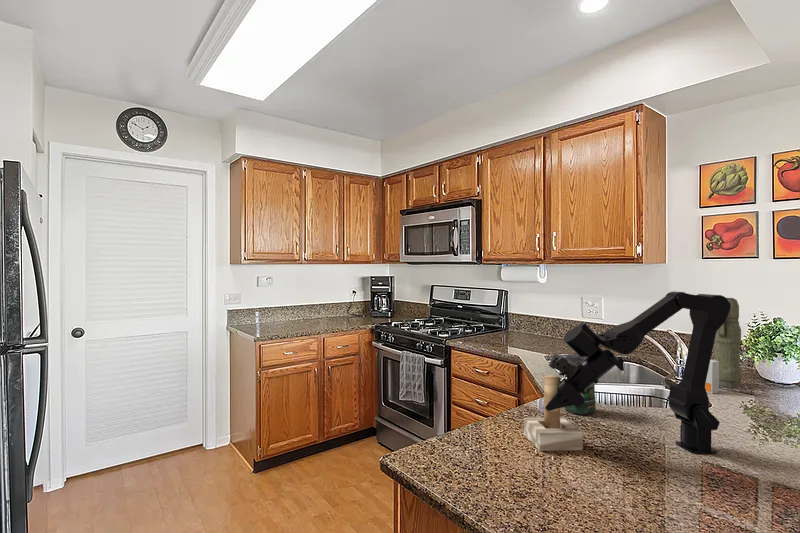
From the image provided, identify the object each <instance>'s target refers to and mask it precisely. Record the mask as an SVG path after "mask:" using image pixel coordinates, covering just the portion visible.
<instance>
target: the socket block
mask: <svg viewBox="0 0 800 533" xmlns="http://www.w3.org/2000/svg"><path fill="white" fill-rule="evenodd" d="M523 435H524V436H525V437H526V438H527V439H528V440H529V441H530V443H531V444H532V445H533V446H535V448H537V450H539V451H540V452H543V451H544V452H545V451H546V452H552V451H557V452H558V451H560V452H561V451H584V450H583V449H584V448H583V446H584V444H583V443H584V441H583V440H584V438H583V437H584V436H583V435H584V433H583V430H580V429H579V428H578V427H577V426H575V424H573V423H571V422H570V421H569V420H568V419H566V418H565V417H563V416H560V428H552V429H546V428H545V427H544V416H543V417H538V416H537V417H523Z"/></svg>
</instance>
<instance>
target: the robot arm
mask: <svg viewBox="0 0 800 533" xmlns="http://www.w3.org/2000/svg"><path fill="white" fill-rule="evenodd" d="M727 298H728V297H725V296H724V295H721V294H710V293H709V294H707V293H698V294H691V293H686V292H684V291H670V292H668V293H666V295H665V296H664V297H662V298H661V299H660V300H659V301H657V302H656V303H654V304H652V305H651V306H650V307H648V308H647V309H645V310H644V311H643V312H641V313H640V314H639V315H637V316H636V317H634V318H633V319H631V320H629V321H627V322H624V323H620V324H617V325H615V326H613V327H610V328H609V329H607V330H606V331H605V332H604V333H600V334H596V333H595V332H594V331H592V330H591V328H590V327H589V326H588V325H587V324H586V323H584V322H580V323H579V325H577V326H575V327H574V326H573V327H572V328H571V329H570V330H568V331H567V332H566V333H565V334H564V337H563V343H565V344H566V345H567V346H568V347H570V348H571V350H573V351H574V352H575V354H576V353H577V354H578V355H579V356H580V357H584V356H586V358H585V359H584V360H583V361H581V360H580V361H577V362H576V363H573V362H571V361H570V360H568V359H567V358H566V357H564V356H563V355H560V354H558V353H556V352H555V353H554V354H553V355H552V357H551V358H550V360H549V363H548V367H550V368H551V369H553V370H556V371H558V375H559V377H560V385H559V384H557V393H556V394H555V396H554V397H553V398H552V399H551V400H550V402H549V403H548V404H547V405H546V407H545V409H546V410H547V411H550V410H554V409H558V408H560V409H562V408H564V407H567V406H572V405H574V406H576V407H577V408H579V407H580V406H582V405H583V404H584V395H583V394H585V393H586V389H588V388H589V387H590V386H591V385H592V384H594V385H597V384H598V383H599V380H600V379H601V378H602V377H603V376H605V375H606V374H607V373H608V372H609V371H610V370H612V369H613V368H615V367H617V369H619V370H620V371H621V372H624V371H625V367H624V366H625V365H624V363H625V360H624V359H623V357H622V356H616V355H615V354H614V353H613V352H615V353H618V354H620V355H630V354H632V353H634V351H636V350H637V348H638V347H639V346H641V344H642V343H643V341H644V339H645V337H646V336H647V334H649V333H650V332H651V331H653V330H655V329H656V328H657V327H659V326H660V325H661V324H663V323H664V322H666V321H668V319H670V318H671V317H673V316H674V315H676V314H677V313H678V312H680V311H682V309H685V310H689V317H690V320H691V324H692V331H691V336H690V341H689V345H688V350H687V356H686V359H685V362H684V369H683V373H682V378H681V381H679V383H678V384H676V385H674V384H670V386H669V394H668V396H667V397H666V399H667V400H668V407H669V408H670V409H671V411H672V412H673V413H674V414H673V415H674V416H675V418H676V420H679V421H680V428H679V429H680V436H679V438H680V440H679V441H678V440H676V441H675V442H674V443H675V444H676V445H677V446H679V447H681V448H682V449H684V450H686V451H688V452H690V453H691V454H718V450H716V449H715V448H712V431H717V430H718V429H719V426H720V421H719V419H717V417H715V416H714V414H712V412H710V409H709V408H710V399H709V395H708V393H707V392H706V389H705V383H706V379H707V374H708V369H709V365H710V360H712V354H713V351H714V347H715V342H714V341H715V336H716V332H717V330H718V329H719V328H720V327H721V326H722V325H723V324H724V323H725V322H726V320H727V317H728V315H729V312H730V310H731V304H730V302H729V301H728V300H727ZM601 346H603V347H605V348H606V349H603V348H602V347H601ZM561 376H562V377H561Z"/></svg>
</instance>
